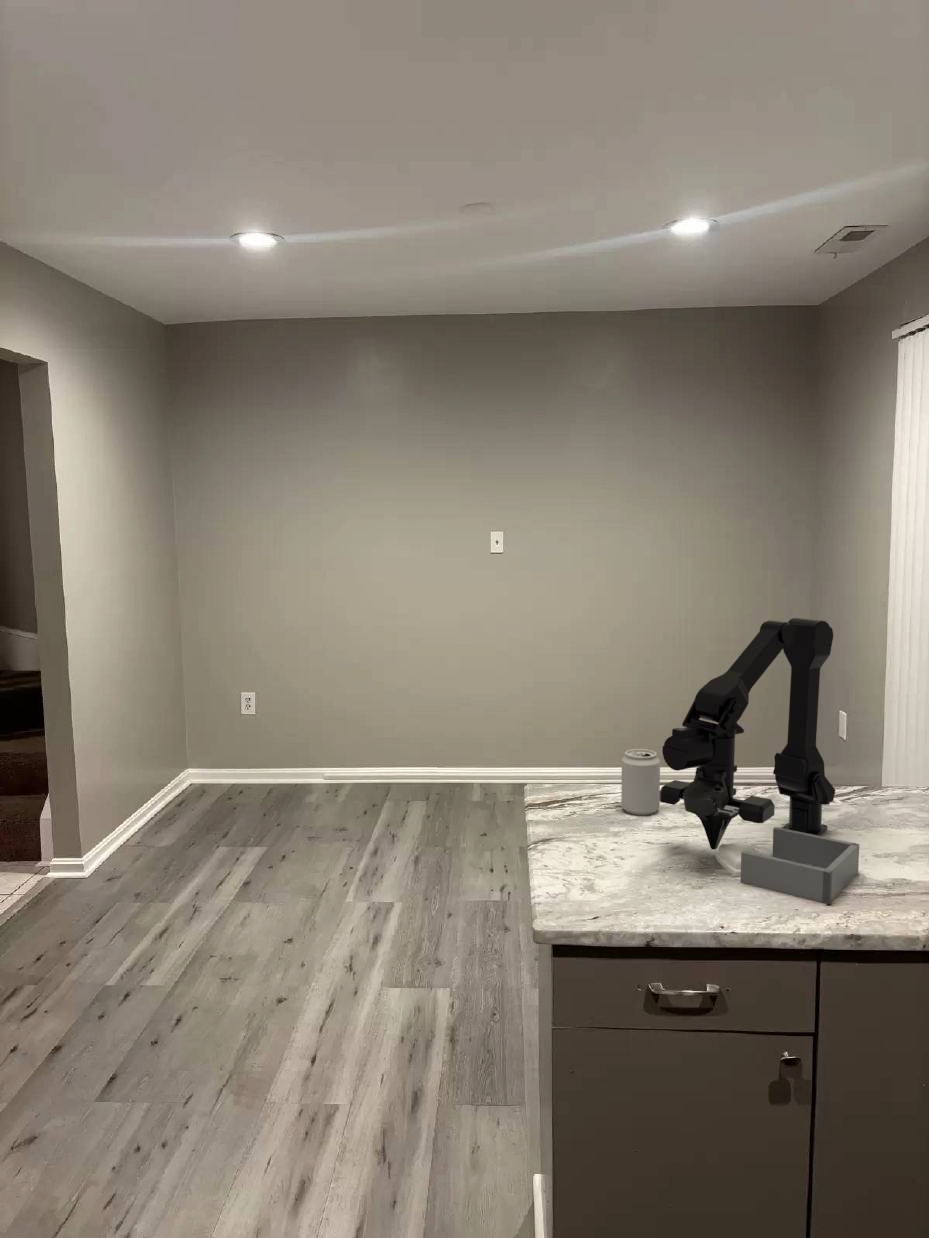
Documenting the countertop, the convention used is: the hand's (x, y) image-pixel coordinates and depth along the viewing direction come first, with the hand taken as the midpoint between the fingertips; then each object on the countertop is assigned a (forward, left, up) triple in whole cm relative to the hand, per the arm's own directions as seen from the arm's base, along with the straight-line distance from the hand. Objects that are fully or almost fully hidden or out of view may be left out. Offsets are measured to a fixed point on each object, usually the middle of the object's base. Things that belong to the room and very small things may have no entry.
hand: (714, 848), depth 163 cm
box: (0, +15, -2) cm, 15 cm away
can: (-15, -22, -2) cm, 27 cm away
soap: (0, +5, -2) cm, 6 cm away
